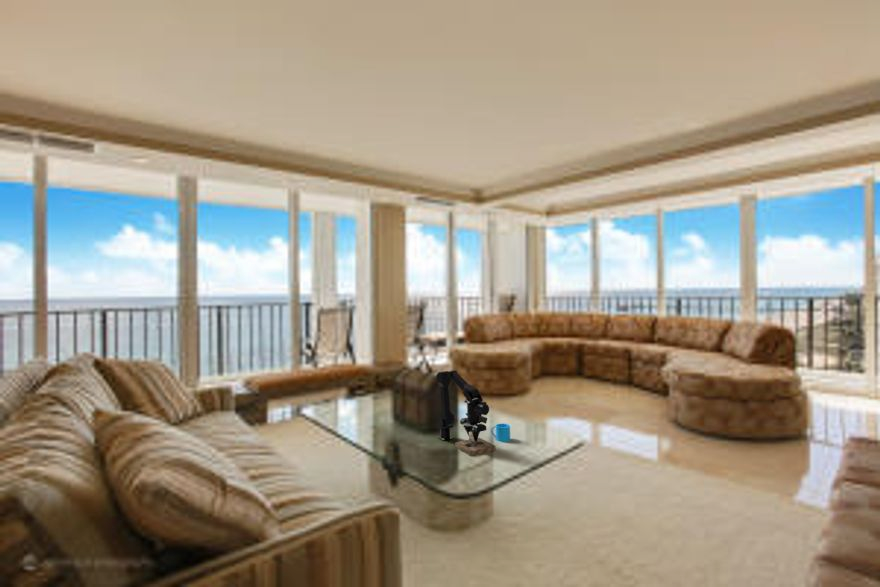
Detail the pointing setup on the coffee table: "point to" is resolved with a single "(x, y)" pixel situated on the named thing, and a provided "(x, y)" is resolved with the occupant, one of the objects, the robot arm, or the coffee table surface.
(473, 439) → the peg
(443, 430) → the robot arm
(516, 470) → the coffee table surface
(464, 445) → the keyhole board
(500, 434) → the mug
